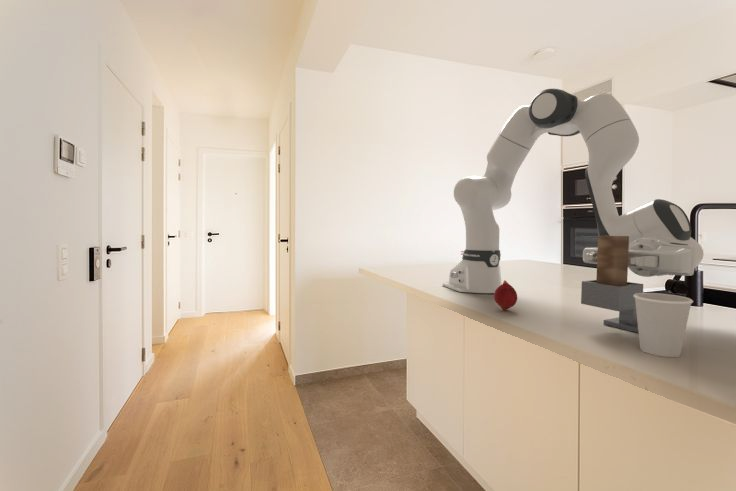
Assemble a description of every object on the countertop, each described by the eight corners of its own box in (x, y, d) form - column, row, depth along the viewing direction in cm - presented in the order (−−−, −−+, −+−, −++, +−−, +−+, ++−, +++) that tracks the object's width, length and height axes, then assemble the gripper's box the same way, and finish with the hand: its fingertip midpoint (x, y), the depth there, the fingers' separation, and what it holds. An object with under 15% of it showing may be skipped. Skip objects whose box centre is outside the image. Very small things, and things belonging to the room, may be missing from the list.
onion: (520, 310, 99) (520, 280, 99) (512, 313, 95) (512, 283, 94) (498, 306, 103) (499, 278, 102) (490, 310, 99) (490, 280, 98)
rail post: (595, 300, 80) (598, 235, 80) (607, 298, 82) (609, 235, 81) (614, 303, 77) (617, 236, 76) (626, 301, 78) (629, 236, 78)
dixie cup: (667, 344, 70) (669, 292, 70) (703, 360, 62) (706, 302, 62) (621, 343, 71) (623, 292, 71) (650, 359, 63) (653, 301, 62)
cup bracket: (580, 328, 82) (581, 281, 81) (619, 321, 87) (621, 277, 87) (617, 338, 74) (619, 286, 74) (657, 330, 80) (660, 282, 80)
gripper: (604, 241, 93) (566, 242, 88) (704, 245, 75) (665, 247, 69) (603, 266, 94) (565, 268, 88) (702, 276, 75) (664, 280, 69)
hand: (610, 259), depth 78 cm, fingers open, 8 cm apart
